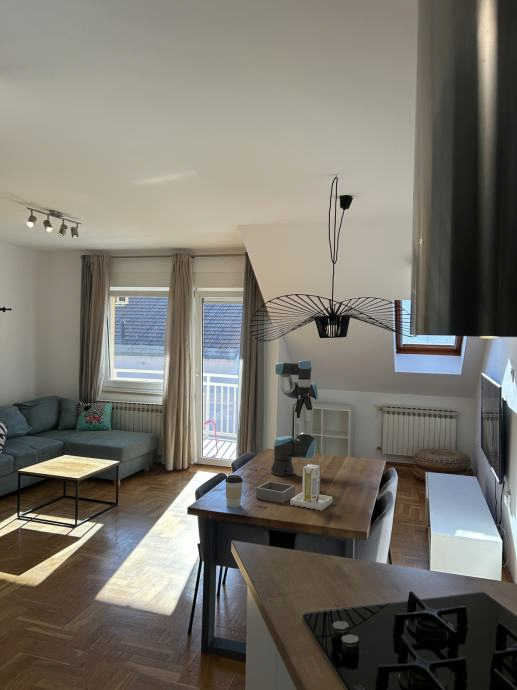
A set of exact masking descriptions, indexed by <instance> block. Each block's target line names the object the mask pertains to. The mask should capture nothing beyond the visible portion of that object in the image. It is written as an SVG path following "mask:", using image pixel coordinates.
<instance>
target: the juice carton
mask: <svg viewBox="0 0 517 690" xmlns="http://www.w3.org/2000/svg"><path fill="white" fill-rule="evenodd" d="M306 465H307V466H303V468H302V484H301V485H302V487H301V492H302V501H305V502H311V503H317V502H318V501H319V494H320V491H319V489H320V490H321V474H320V467H321V466H320V465H318V464H312V463H308V464H306ZM319 466H320V467H319Z"/></svg>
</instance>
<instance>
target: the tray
mask: <svg viewBox="0 0 517 690" xmlns="http://www.w3.org/2000/svg"><path fill="white" fill-rule="evenodd" d="M289 500H290V501H289V505H290V506H292V505H295V506H294V507H297V506H301V507H300V508H302V507H306V508H305V509H307V508H311V509H310V510H312V509H316V510H315V511H317V510H320V511H319V512H322V511H323V510H325V509H326V508H328V507H329V506H330V505H331V504H332V503H333V496H329V495H324V494H320V493H319V501H318V502H317V503H311V502H305V501H302V491H301V492H300V493H298V494H295V496H294V497H292V498H290V499H289Z"/></svg>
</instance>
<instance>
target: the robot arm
mask: <svg viewBox="0 0 517 690" xmlns="http://www.w3.org/2000/svg"><path fill="white" fill-rule="evenodd" d="M274 369H275V375H278V376H279V377H280V382H281V383H280V389H281V392H282V393H283V394H284V395H285V396H287V397H288V398H290V399H294V400H296V404H295V408H294V412H295V413H296V424H297V425H298V434H297V435H296V437H295V438H293V436H291V435H285V436H284V435H283V436H278V437H276V438H275V439H274V442H273V443H274V445H273V463H272V466H271V468H270V474H271V473H272V475H273V474H274V476H277V475H278V476H277V477H290V475H291V476H293V474H294V475H295V467H294V465H293V458H294V459H296V458H297V459H313V458H314V457H315V455H316V454H315V453H316V450H317V449H316V447H317V440H316V439H315V437H314V436H313V421H314V420H313V419H314V418H313V417H314V415H313V414H314V404H315V403H316V402H317V401H318V399H319V397H318V395H319V394H318V393H319V392H318V386H317V383H316V382H312V380H311V378H312V361H311V360H299V361H298V362H283V361H282V362H276V363H275V368H274ZM293 376H298V379H297V381H293Z"/></svg>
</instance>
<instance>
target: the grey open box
mask: <svg viewBox="0 0 517 690" xmlns="http://www.w3.org/2000/svg"><path fill="white" fill-rule="evenodd" d="M293 496H294V497H295V496H296V485H293V484H286V483H281V482H276V481H270V480H269V481H266V482H265V483H263V484H260V485H259V486H257V487H256V489H255V499H258V498H259V499H260V500H265V501H269V502H274V501H275V502H274V503H279V502H281V503H280V504H284V503H286V502H288V501H289V500H290V499H292V498H293ZM288 499H289V500H288ZM285 501H286V502H285ZM283 502H284V503H283Z"/></svg>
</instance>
